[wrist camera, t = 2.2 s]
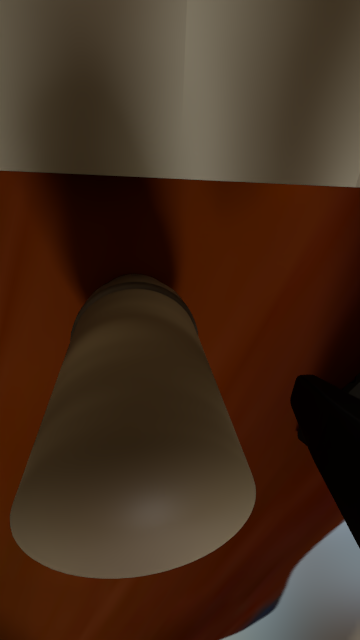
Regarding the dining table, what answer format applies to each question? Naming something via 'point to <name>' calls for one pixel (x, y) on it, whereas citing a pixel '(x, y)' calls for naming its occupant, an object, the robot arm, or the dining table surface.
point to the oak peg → (132, 445)
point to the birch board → (182, 89)
